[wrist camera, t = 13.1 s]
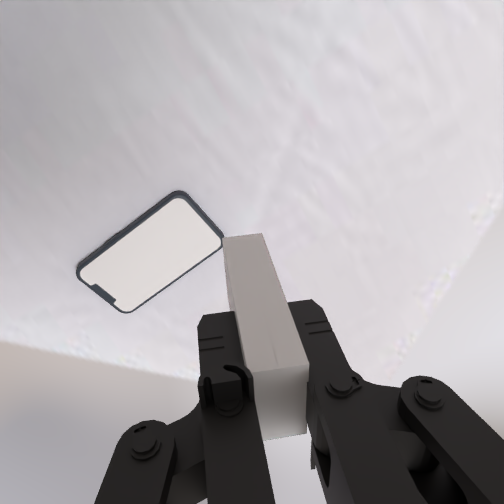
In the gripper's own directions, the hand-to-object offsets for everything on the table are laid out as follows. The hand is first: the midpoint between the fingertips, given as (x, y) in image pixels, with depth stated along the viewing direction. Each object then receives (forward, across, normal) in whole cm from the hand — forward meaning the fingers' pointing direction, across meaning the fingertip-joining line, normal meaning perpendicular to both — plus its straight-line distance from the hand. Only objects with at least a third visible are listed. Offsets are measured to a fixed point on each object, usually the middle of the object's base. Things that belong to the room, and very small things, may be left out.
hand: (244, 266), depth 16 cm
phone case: (+30, -8, -16) cm, 35 cm away
